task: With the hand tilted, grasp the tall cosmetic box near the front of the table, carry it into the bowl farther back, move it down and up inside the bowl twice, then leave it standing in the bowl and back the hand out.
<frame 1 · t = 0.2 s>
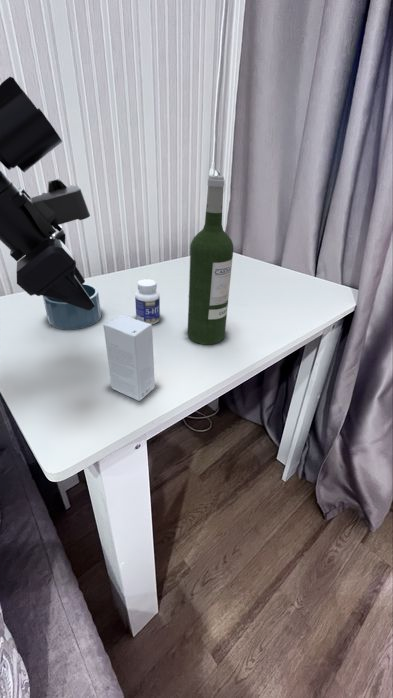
hand: (87, 294, 48), 16 cm above the table, tool tilted 35°, fingers open, 9 cm apart
pill bottle: (148, 320, 75), on the table
bowl: (75, 317, 74), on the table
cosmetic box: (133, 389, 55), on the table
wine bottle: (206, 336, 70), on the table
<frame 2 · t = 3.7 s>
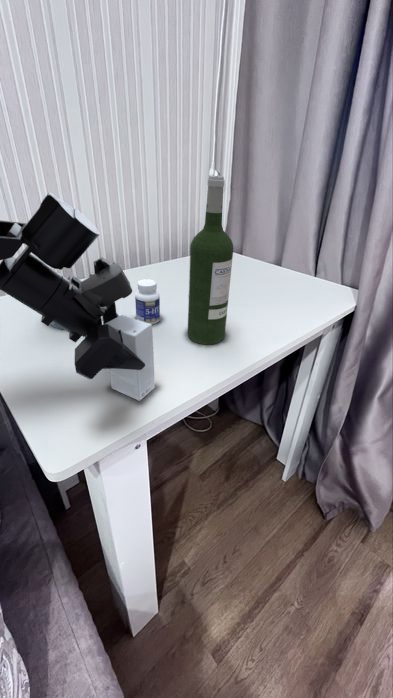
hand: (139, 353, 51), 7 cm above the table, tool tilted 45°, fingers closed on cosmetic box, 7 cm apart
cosmetic box: (133, 389, 55), on the table, touching gripper
everything else where it was.
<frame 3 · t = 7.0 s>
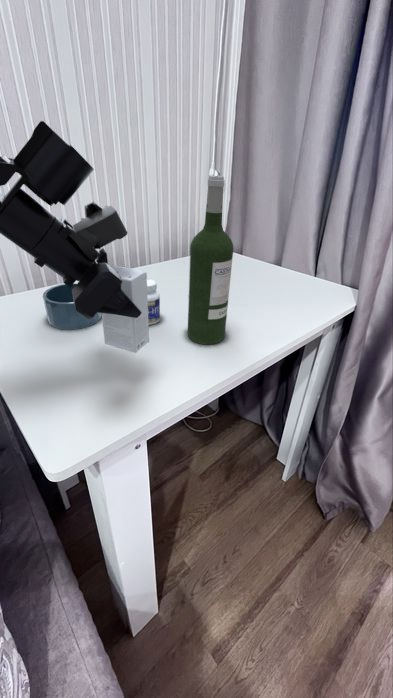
hand: (133, 304, 51), 13 cm above the table, tool tilted 45°, fingers closed on cosmetic box, 7 cm apart
cosmetic box: (127, 344, 54), point 6 cm above the table, touching gripper
everything else where it was.
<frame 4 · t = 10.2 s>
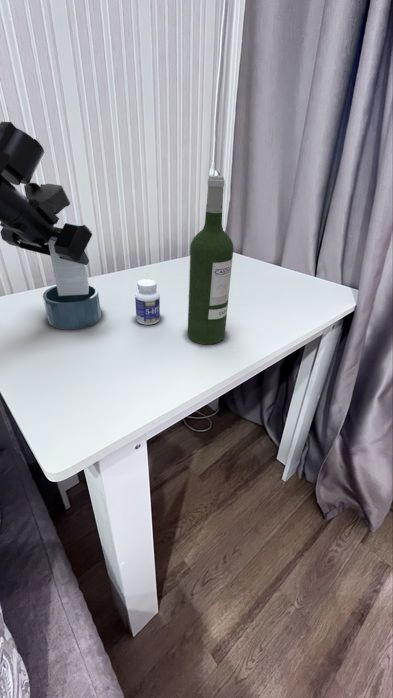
hand: (74, 259, 68), 13 cm above the table, tool tilted 45°, fingers closed on cosmetic box, 7 cm apart
cosmetic box: (74, 292, 70), point 6 cm above the table, touching gripper
everything else where it was.
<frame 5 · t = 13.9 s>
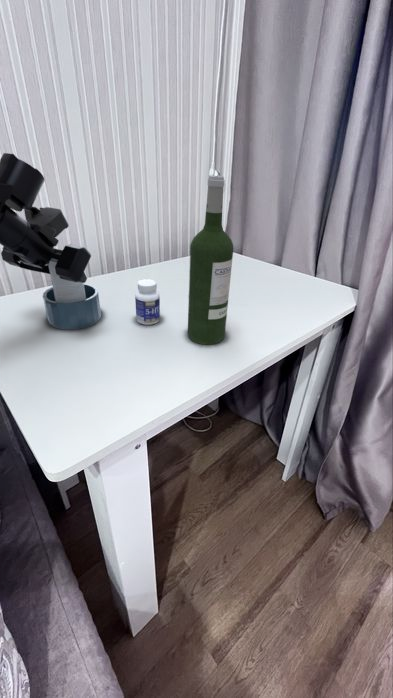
hand: (72, 277, 70), 9 cm above the table, tool tilted 45°, fingers closed on cosmetic box, 7 cm apart
cosmetic box: (72, 308, 73), point 2 cm above the table, touching gripper
everything else where it was.
when the fingers open (7 cm above the table, at t = 17.0 s): cosmetic box stays where it is, resting on bowl.
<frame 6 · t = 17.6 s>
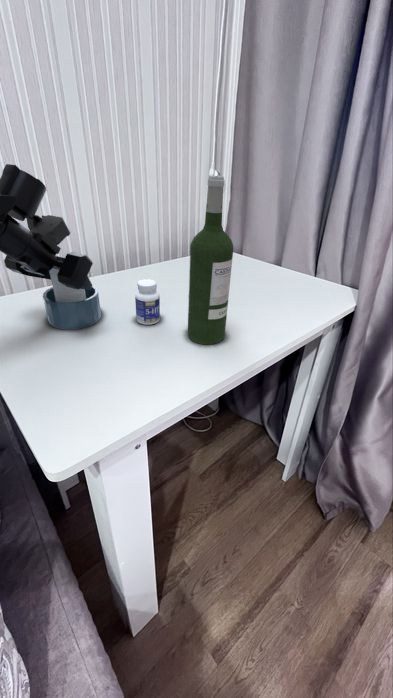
hand: (74, 282, 71), 8 cm above the table, tool tilted 45°, fingers open, 9 cm apart
cosmetic box: (74, 316, 74), resting on bowl
everything else where it was.
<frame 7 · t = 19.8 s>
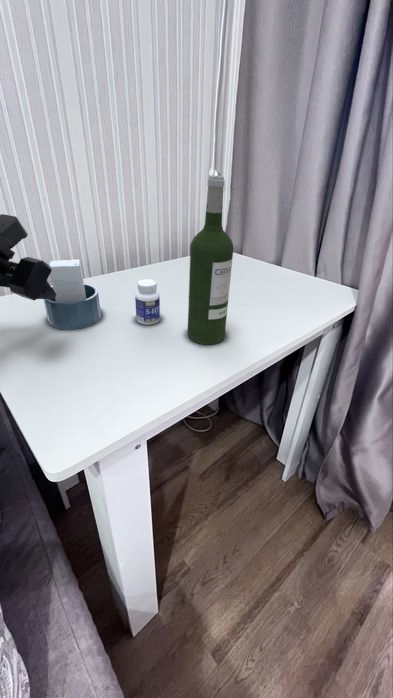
hand: (37, 291, 63), 9 cm above the table, tool tilted 45°, fingers open, 9 cm apart
nothing on the table moved.
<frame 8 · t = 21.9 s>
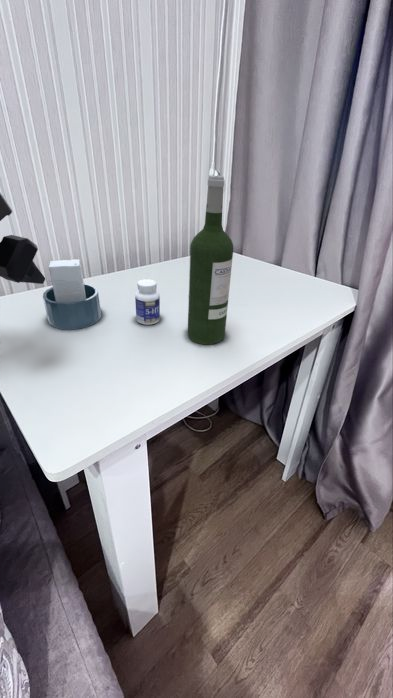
hand: (24, 275, 58), 14 cm above the table, tool tilted 45°, fingers open, 9 cm apart
nothing on the table moved.
at the end: cosmetic box 0.2 cm off-centre in the bowl, point 0.4 cm above the bowl's base; cosmetic box tilted 0°; the gripper is holding nothing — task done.
